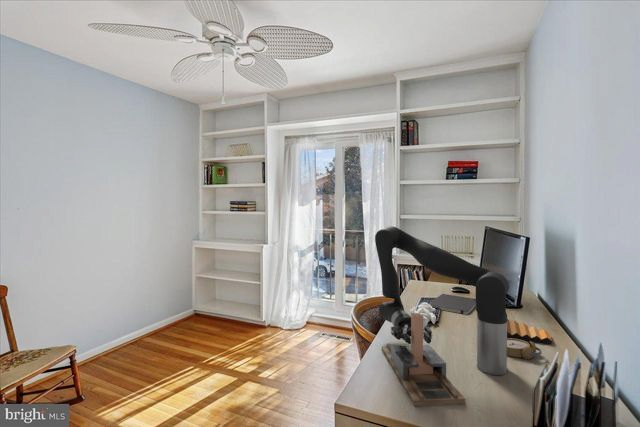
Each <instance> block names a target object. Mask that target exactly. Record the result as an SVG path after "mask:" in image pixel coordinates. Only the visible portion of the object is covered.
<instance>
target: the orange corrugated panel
mask: <svg viewBox="0 0 640 427" xmlns="http://www.w3.org/2000/svg"><path fill="white" fill-rule="evenodd" d="M507 338H513V339H519V340H523V341H526V342H529V341H531V342H533V343H538V344H541V342H542V343H543V344H544V345H549V346H550V345H552V342H553V340H552V338H551V335H550V333H549V332H548V331H547V330H545V329H540V330H539V329H538V328H537V327H535V326H534V325H533V326H530V327H529V326H528V325H527V324H526V323H524V322H523V323H520V324H519V322H517V321H516V320H515V319H513V320H511V321H510V319H508V318H507Z"/></svg>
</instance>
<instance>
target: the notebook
mask: <svg viewBox="0 0 640 427" xmlns="http://www.w3.org/2000/svg"><path fill="white" fill-rule="evenodd" d="M428 304H430V305H432V306H436V307H440V308H441V311H444V312H452V313H457V314H461V315H468V314H470V313H472V311H473V310H474V309H475V308H476V307H475V306H476V298H472V297H468V296H467V297H466V296H459V295H453V294H447V293H441V294H440V295H439V296H437V297H436V298H434V299H433V300H432V301H430V302H428ZM474 307H475V308H474Z"/></svg>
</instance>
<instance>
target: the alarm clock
mask: <svg viewBox="0 0 640 427" xmlns="http://www.w3.org/2000/svg"><path fill="white" fill-rule="evenodd" d="M537 351H538V352H537ZM541 355H542V349H541V348H539V347H537V345H536V344H535V342H533V341H532V340H531V341H523V339H520V340H519V339H513V337H511V338H507V357H514V358H515V357H516V358H517V357H518V358H521V357H522V358H523V359H525V360H531V359H532V358H533V357H534V356H541Z"/></svg>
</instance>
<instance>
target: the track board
mask: <svg viewBox="0 0 640 427" xmlns="http://www.w3.org/2000/svg"><path fill="white" fill-rule="evenodd" d="M391 346H392V345H391V343H387V344H386V346H381V352H382V354H383V355H384V357H385V359H386V361H387V362H388V364H389V366H390V367H391V369H392V371H393V373H394V374H395V376H396V378H397V379H398V381H399V383H400V385H401V386H402V389H403V390H404V392H405V393H406V395H407V397H408V398H409V400H410V402H411V404H412V405H413V407H421V406H422V407H425V406H426V407H427V406H437V405H438V406H444V405H445V406H446V405H465V404H466V398H465V397H464V396H463V395H462V393H461V392H460V391H459V390H458V389H457V388H456V386H455V385H454V384H453V382H451V380H449V378H448V377H447V376H446V379H444V378H443V377H442V376H441V374H440V373H439V372H438V371H437V370H436V368H435V367H433V374H418V375H409V373H408V380H403V379H402V377H401V376H400V374H399V372H398V371H397V369H396V367H395V366H394V364H393V362H392V361H391ZM404 346H405V347H406V348H407V349H408V351H409V352H410V353H411V345H404Z"/></svg>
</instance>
